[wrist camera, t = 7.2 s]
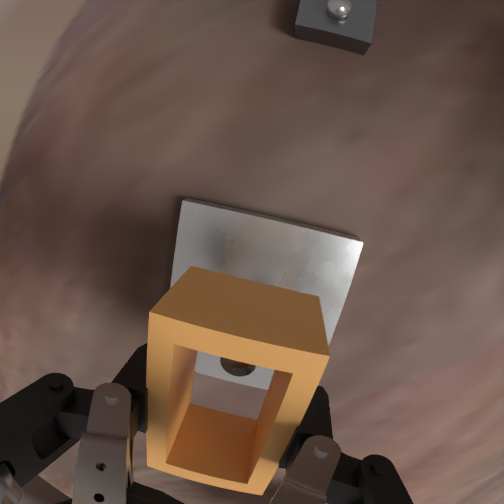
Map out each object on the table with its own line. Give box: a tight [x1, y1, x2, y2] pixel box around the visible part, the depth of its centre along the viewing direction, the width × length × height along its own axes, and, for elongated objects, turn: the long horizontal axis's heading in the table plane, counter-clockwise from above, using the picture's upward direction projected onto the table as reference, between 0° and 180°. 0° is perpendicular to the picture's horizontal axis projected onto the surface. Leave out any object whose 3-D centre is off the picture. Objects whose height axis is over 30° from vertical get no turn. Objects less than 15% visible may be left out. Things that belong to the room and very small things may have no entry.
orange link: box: [146, 266, 330, 495], centre depth 11 cm, size 5×8×4 cm, turn 168°
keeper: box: [170, 198, 363, 390], centre depth 16 cm, size 10×11×6 cm
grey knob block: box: [295, 0, 377, 55], centre depth 13 cm, size 4×3×3 cm
